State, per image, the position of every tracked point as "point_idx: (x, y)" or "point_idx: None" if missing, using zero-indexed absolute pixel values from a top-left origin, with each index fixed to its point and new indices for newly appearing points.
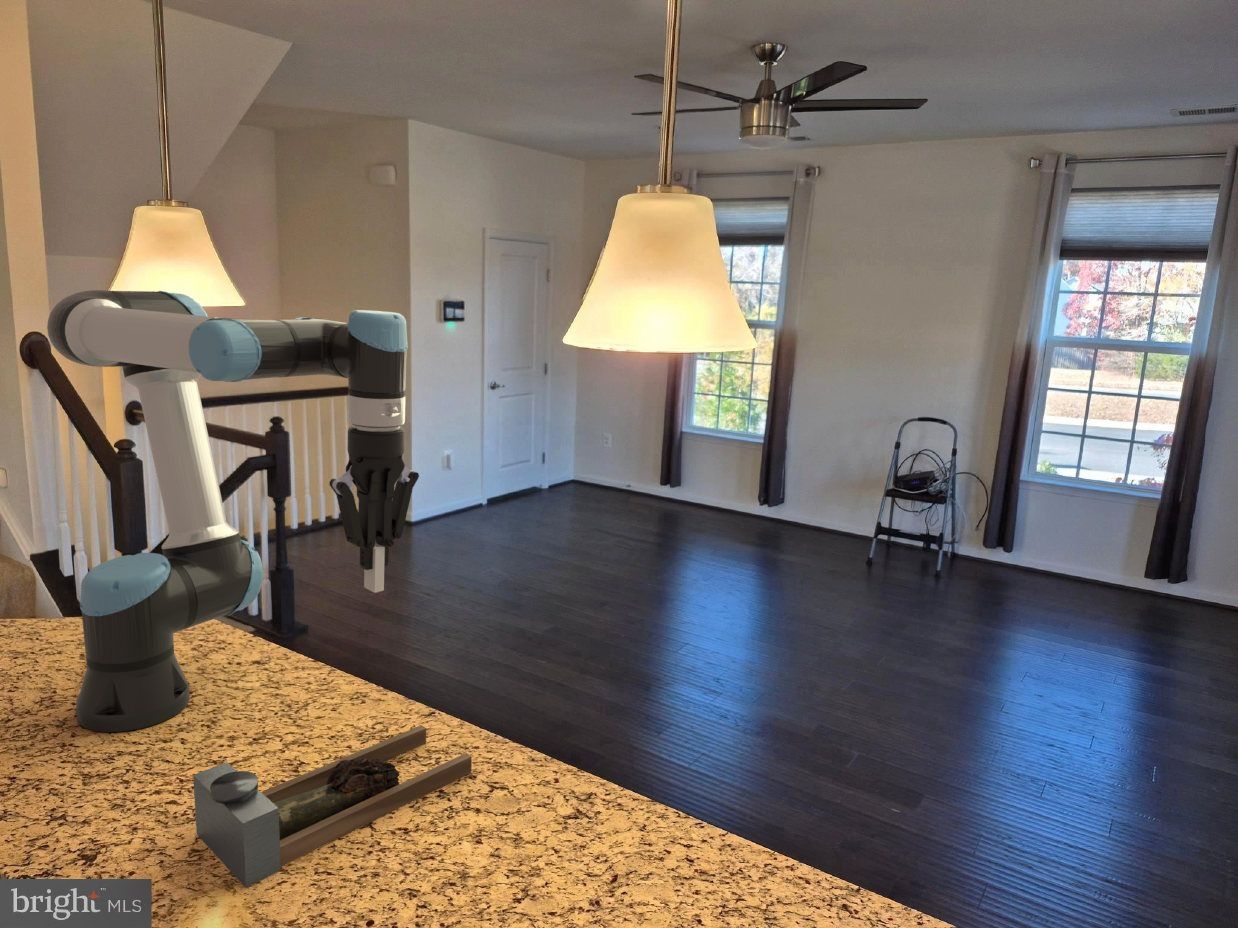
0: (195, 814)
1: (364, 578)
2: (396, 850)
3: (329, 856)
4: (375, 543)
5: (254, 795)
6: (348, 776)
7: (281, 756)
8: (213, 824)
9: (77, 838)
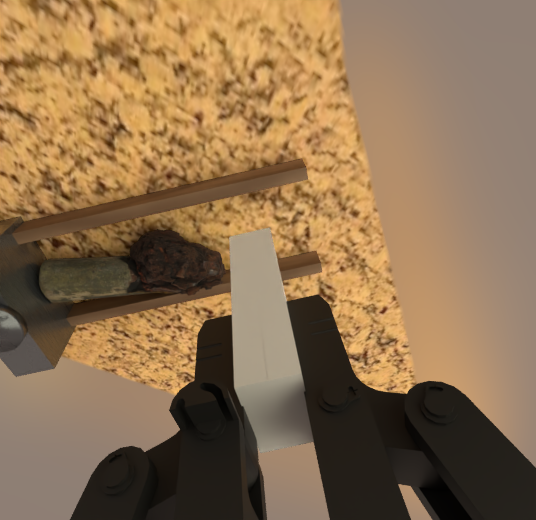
0: None
1: (230, 259)
2: (191, 333)
3: (129, 316)
4: (298, 393)
5: (24, 340)
6: (156, 283)
7: (89, 88)
8: None
9: None
